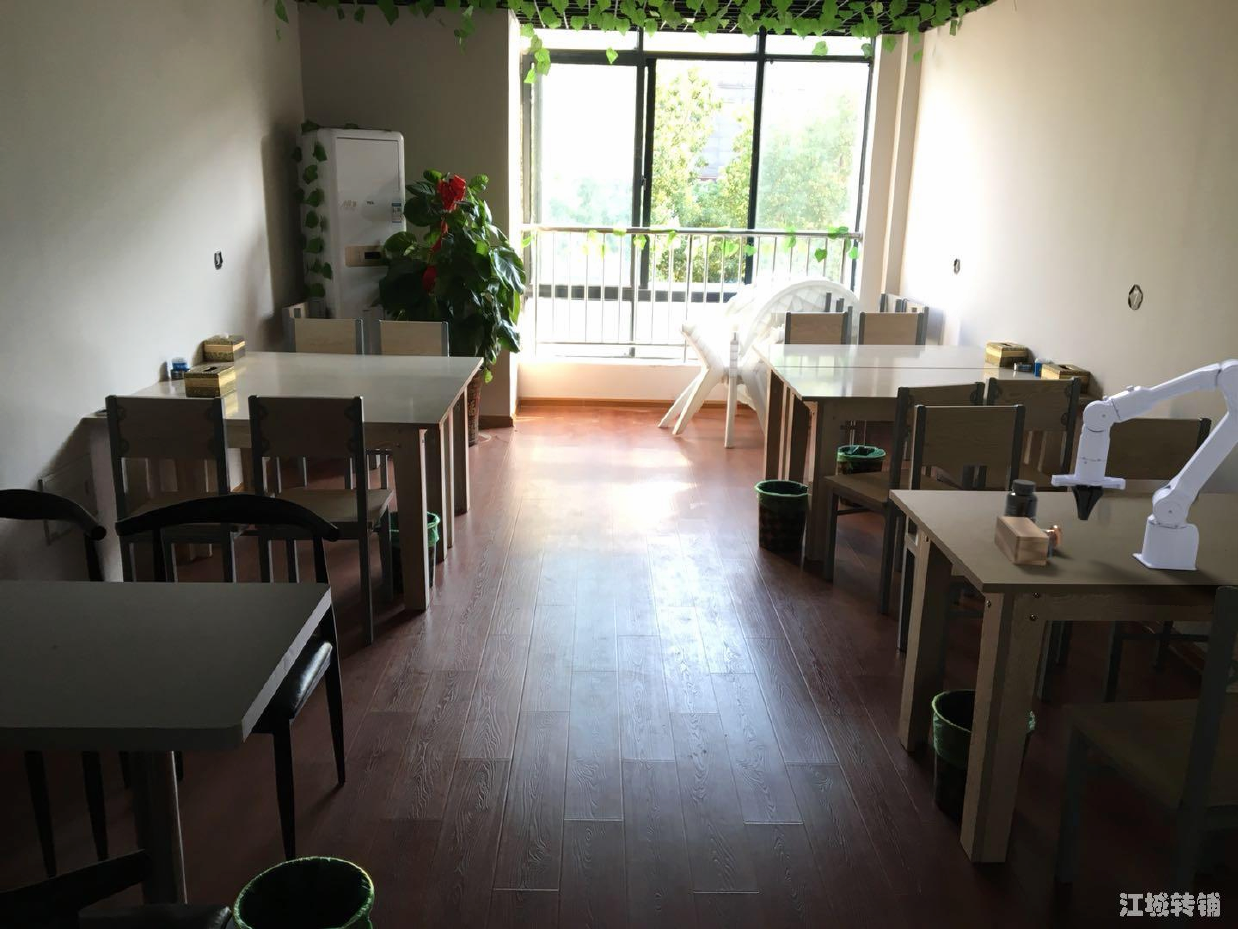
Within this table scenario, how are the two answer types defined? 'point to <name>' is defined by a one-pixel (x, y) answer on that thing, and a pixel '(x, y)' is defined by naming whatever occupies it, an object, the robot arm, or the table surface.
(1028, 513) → the supplement bottle
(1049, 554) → the knob near
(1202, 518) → the table surface
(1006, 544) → the catch block
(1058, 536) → the knob far
